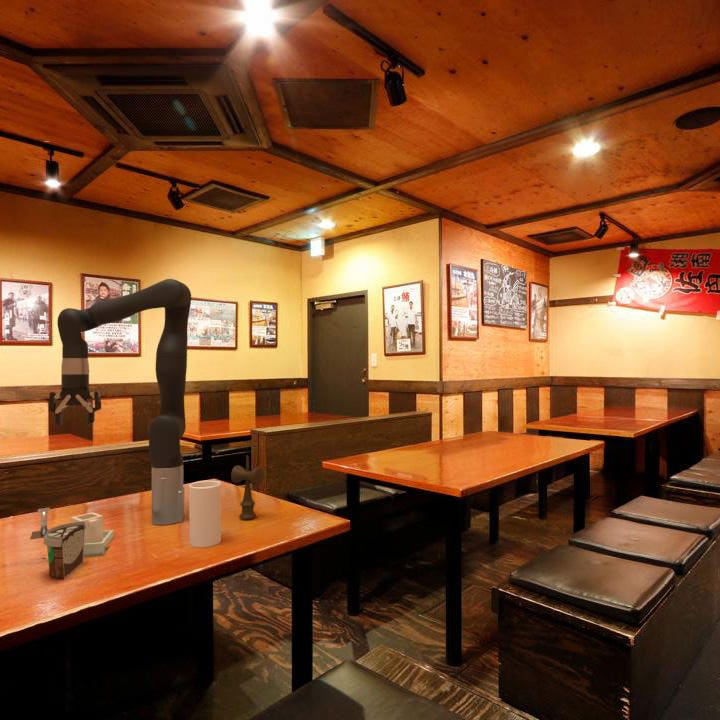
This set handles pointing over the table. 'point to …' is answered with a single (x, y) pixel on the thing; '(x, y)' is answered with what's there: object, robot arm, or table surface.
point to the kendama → (247, 487)
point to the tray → (98, 545)
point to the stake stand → (43, 525)
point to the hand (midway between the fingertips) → (75, 424)
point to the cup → (205, 513)
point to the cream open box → (91, 526)
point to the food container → (65, 548)
